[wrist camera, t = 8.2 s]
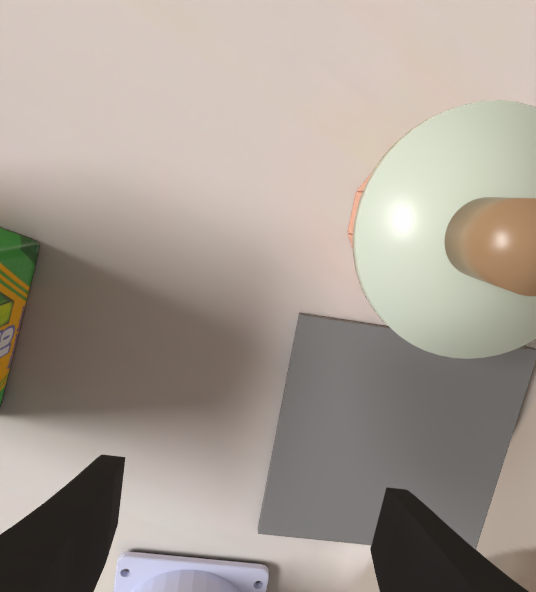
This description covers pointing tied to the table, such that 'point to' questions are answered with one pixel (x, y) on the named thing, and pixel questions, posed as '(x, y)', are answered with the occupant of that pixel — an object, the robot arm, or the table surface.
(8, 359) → the chalk box
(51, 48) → the table surface
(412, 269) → the lid
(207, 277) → the table surface
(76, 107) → the table surface
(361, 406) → the mat
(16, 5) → the table surface
